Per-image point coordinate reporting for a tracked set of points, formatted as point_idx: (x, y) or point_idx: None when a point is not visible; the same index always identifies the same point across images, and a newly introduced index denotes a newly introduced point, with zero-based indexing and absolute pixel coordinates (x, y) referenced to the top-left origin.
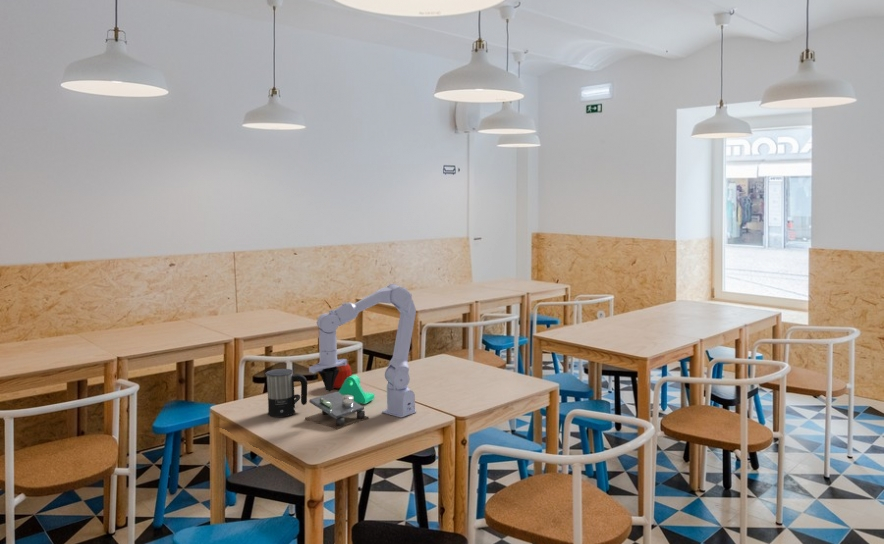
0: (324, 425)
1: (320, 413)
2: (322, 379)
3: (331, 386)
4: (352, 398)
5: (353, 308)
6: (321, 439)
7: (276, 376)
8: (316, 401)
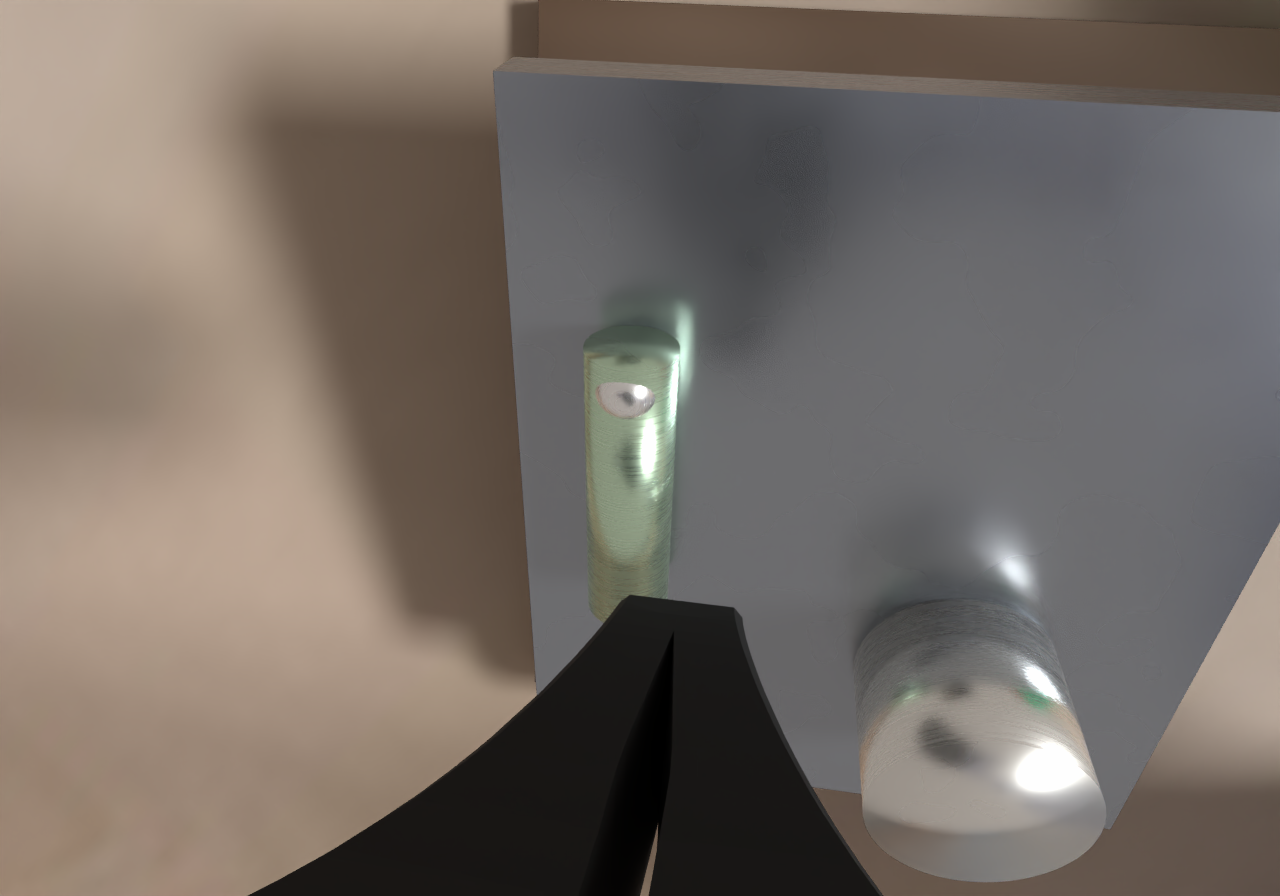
0: None
1: (854, 47)
2: (450, 773)
3: (643, 862)
4: (990, 874)
5: None
6: (246, 723)
7: None
8: (573, 252)
